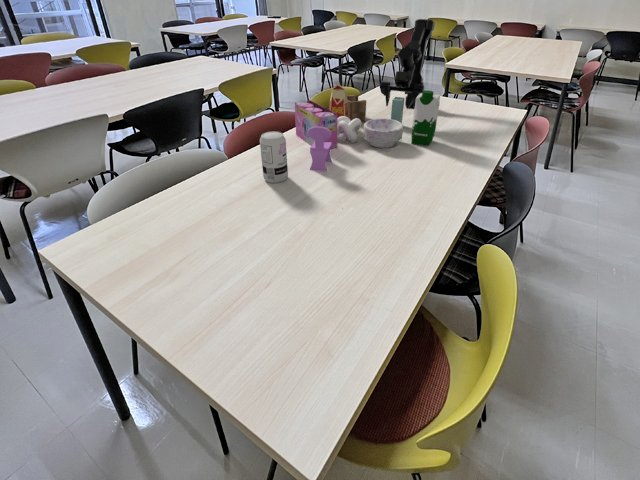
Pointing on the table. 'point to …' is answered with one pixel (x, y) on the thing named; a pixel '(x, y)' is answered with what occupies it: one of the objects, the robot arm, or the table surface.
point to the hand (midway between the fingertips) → (397, 107)
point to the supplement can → (274, 157)
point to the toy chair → (320, 147)
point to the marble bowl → (383, 132)
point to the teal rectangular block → (397, 109)
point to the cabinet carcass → (356, 108)
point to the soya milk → (425, 118)
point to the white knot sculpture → (347, 129)
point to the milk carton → (339, 101)
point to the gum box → (315, 121)
